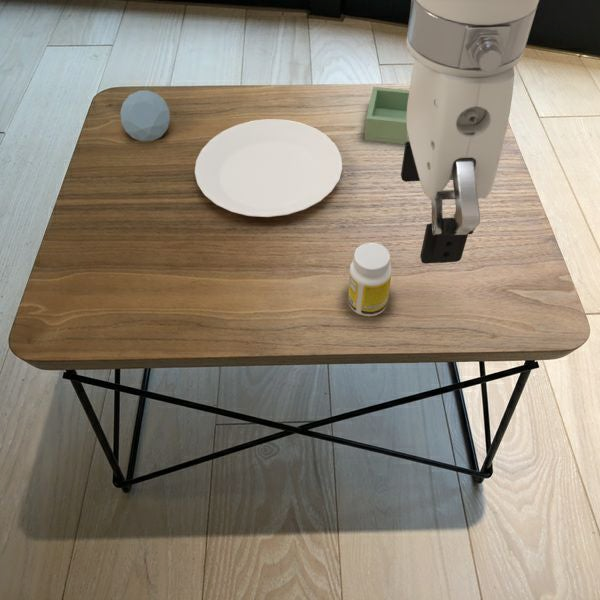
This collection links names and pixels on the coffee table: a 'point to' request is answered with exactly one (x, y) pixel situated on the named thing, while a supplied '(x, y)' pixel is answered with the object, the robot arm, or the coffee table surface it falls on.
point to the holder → (387, 116)
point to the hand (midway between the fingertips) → (428, 217)
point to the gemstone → (145, 115)
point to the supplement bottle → (369, 279)
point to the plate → (268, 167)
